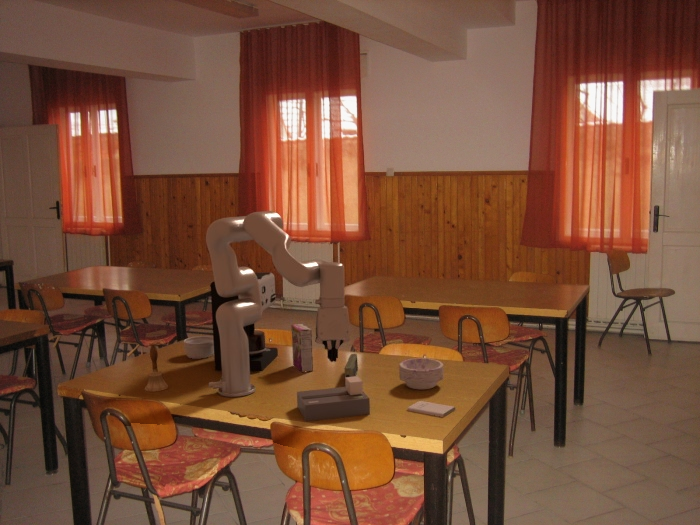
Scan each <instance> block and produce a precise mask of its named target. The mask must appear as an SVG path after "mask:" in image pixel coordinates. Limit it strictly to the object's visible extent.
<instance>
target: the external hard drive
mask: <svg viewBox="0 0 700 525" xmlns="http://www.w3.org/2000/svg"><path fill="white" fill-rule="evenodd" d="M406 410H407V411H409V412H413V413H417V414H418V413H419V414H424V415H428V416H434V415H435V416H434V417H439V416H440V418H444V417H446V416H448V415H449V414H451V413H453V412H455V410H456V406H453V405H446V404H440V403H436V402H435V403H434V402H431V401H430V402H428V401H425V400H424V401H423V400H419V401H417V402H415V403H413V404H412V405H409V406H407V408H406ZM450 412H451V413H450ZM447 414H448V415H447Z"/></svg>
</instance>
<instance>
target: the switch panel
mask: <svg viewBox="0 0 700 525" xmlns="http://www.w3.org/2000/svg"><path fill="white" fill-rule="evenodd" d="M296 404H297V405H296V406H297V409H298V412H300V414H301V416H302V418H303V419H304V421H305V422H313V421H321V420H331V419H332V420H333V419H339V418H347V417H356V416H365V415H371V410H370V408H371V407H370V406H371V404H370V397H369V396H368V395H367V394H366V393H365V391H363V394H357V395H350V394H349V393H348V392H347V391H346V387H345V386H340V387H338V386H337V387H331V388H330V387H329V388H321V389H311V390H302V391H296Z"/></svg>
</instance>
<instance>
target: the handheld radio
mask: <svg viewBox="0 0 700 525" xmlns="http://www.w3.org/2000/svg"><path fill="white" fill-rule="evenodd" d="M358 363H359V362H358V354H357V353H351V354H350V355H349V356H348V359H347V362H346V364H345V366H344V378H345V377H354V376H357V374H358V370H359V367H358V366H359V364H358ZM344 387H346V384H345V385H344Z"/></svg>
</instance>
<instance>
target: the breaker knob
mask: <svg viewBox="0 0 700 525" xmlns="http://www.w3.org/2000/svg"><path fill="white" fill-rule="evenodd" d="M344 381H345V385H346V391H347V392H348V393H349V394H350V395H357V394H363V392H364V390H363V389H364V385H363V384H364V382H363V379H361V378H360V377H359V376H358V375H356V376H354V377H345V376H344Z"/></svg>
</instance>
